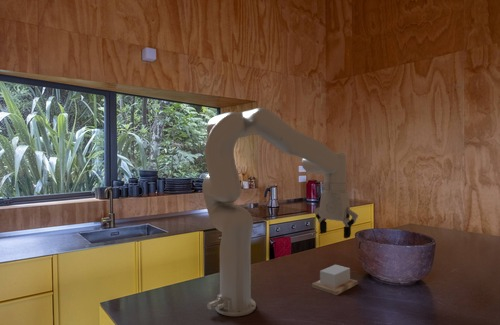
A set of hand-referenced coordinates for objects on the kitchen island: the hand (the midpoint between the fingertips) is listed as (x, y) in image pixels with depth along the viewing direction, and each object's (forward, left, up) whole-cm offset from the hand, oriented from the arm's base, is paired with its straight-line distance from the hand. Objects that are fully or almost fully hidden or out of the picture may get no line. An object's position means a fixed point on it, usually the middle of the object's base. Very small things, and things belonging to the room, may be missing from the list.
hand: (334, 235), depth 124 cm
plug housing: (0, 0, -17) cm, 17 cm away
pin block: (0, 0, -18) cm, 18 cm away
